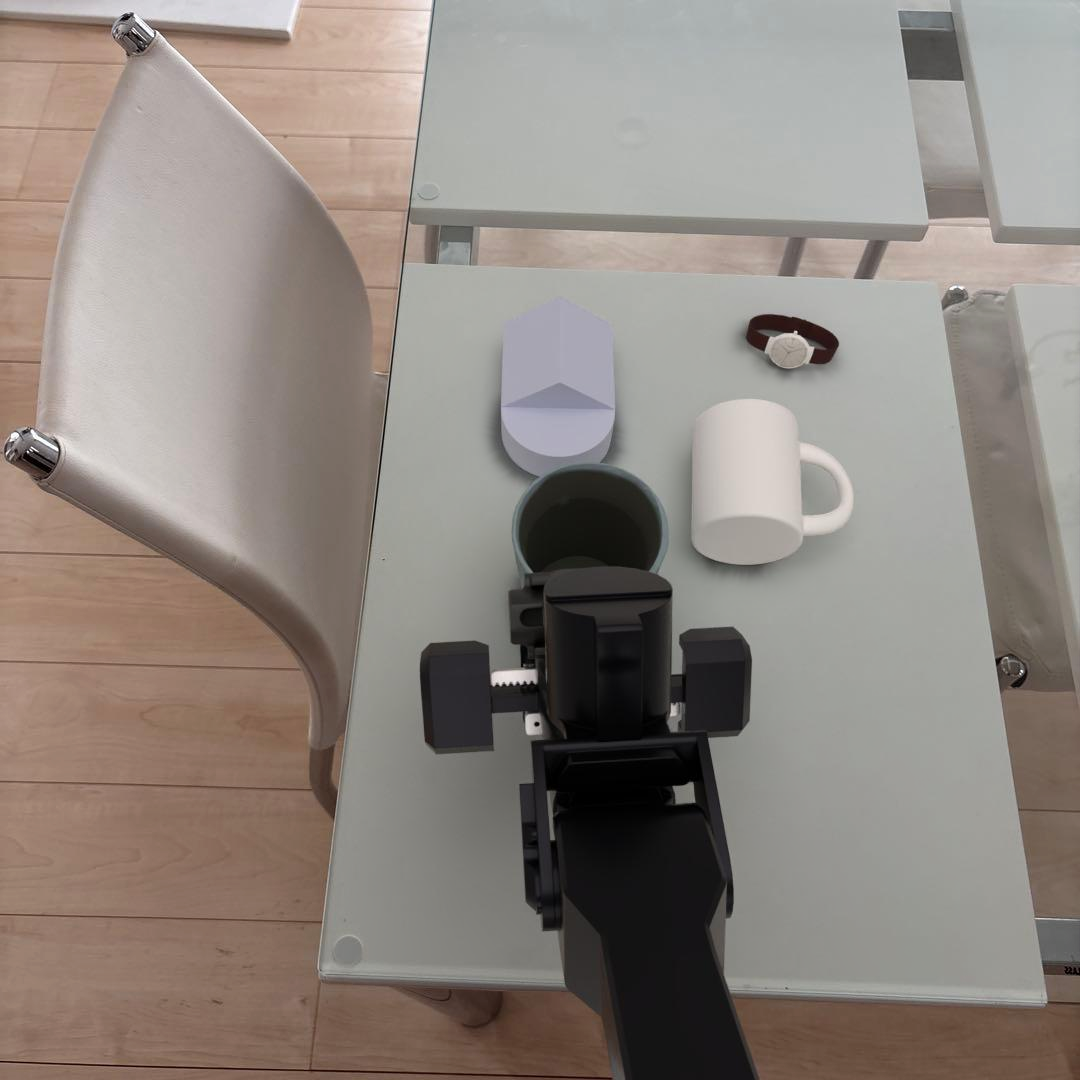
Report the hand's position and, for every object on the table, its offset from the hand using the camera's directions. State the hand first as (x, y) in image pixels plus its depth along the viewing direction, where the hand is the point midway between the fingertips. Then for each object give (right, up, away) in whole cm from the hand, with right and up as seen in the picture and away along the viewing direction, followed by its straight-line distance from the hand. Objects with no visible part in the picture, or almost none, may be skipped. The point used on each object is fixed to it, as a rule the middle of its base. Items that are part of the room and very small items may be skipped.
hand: (571, 633), depth 63 cm
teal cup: (+1, +1, +8) cm, 9 cm away
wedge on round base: (-1, +17, +16) cm, 23 cm away
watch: (+19, +23, +20) cm, 36 cm away
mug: (+15, +8, +12) cm, 21 cm away
